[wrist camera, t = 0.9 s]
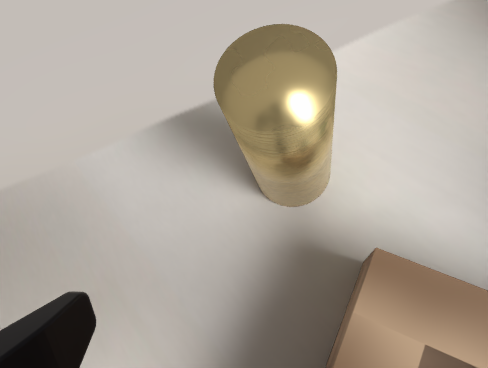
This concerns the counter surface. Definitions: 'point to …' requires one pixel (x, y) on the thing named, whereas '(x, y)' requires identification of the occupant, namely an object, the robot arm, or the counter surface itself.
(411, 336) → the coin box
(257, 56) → the brass cylinder
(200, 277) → the counter surface
